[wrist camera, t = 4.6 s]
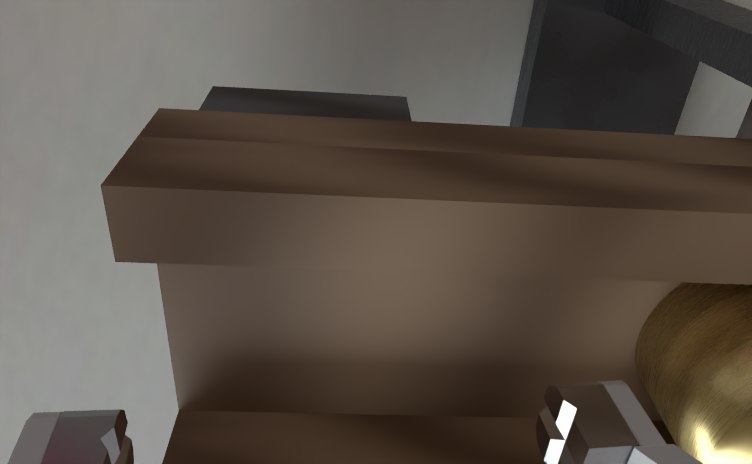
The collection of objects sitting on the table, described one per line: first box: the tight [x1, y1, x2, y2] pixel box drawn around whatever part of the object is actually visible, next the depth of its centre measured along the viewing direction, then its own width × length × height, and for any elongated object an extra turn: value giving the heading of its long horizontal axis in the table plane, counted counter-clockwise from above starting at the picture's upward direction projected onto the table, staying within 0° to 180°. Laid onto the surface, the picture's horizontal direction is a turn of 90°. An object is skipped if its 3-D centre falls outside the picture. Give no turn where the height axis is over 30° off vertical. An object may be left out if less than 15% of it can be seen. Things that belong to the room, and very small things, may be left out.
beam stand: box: [510, 0, 752, 135], centre depth 19 cm, size 6×14×10 cm, turn 176°
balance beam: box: [101, 86, 752, 464], centre depth 16 cm, size 28×10×6 cm, turn 86°
